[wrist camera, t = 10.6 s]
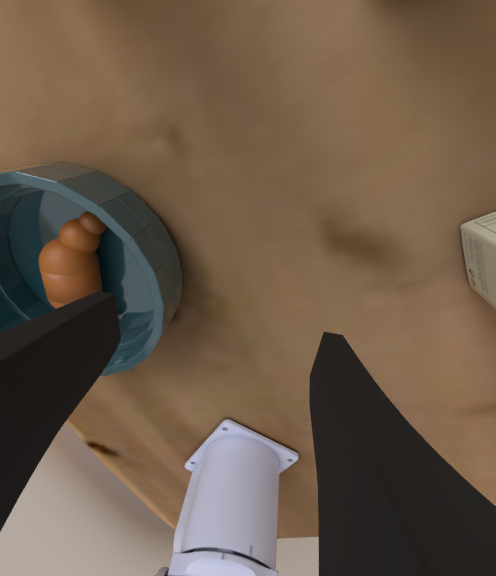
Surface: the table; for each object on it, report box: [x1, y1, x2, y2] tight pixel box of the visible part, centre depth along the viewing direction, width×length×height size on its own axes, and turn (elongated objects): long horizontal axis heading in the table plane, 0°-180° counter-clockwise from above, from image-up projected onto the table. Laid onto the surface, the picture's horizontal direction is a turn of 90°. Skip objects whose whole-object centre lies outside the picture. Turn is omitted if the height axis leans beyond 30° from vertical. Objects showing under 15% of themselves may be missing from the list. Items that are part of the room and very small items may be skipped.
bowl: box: [0, 162, 183, 376], centre depth 19 cm, size 13×13×4 cm
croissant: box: [39, 211, 107, 309], centre depth 19 cm, size 4×8×3 cm, turn 173°
